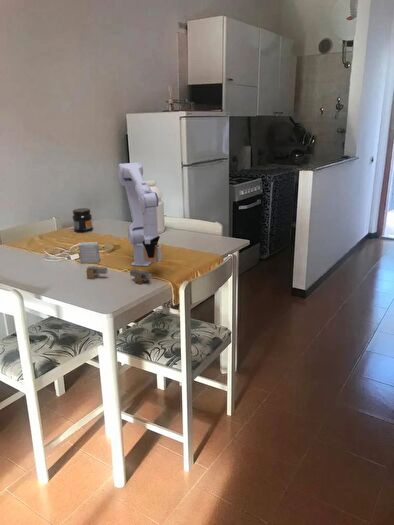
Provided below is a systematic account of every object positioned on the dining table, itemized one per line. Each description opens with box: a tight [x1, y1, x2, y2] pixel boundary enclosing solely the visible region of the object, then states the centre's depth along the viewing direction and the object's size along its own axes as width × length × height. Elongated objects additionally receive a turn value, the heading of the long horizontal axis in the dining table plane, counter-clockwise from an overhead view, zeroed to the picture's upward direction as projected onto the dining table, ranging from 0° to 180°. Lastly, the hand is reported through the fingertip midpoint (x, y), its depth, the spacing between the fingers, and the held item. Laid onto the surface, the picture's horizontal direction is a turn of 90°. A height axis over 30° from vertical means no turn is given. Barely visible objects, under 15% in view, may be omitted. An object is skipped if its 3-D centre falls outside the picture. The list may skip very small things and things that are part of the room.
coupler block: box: [142, 244, 163, 263], centre depth 173 cm, size 4×7×6 cm, turn 77°
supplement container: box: [72, 207, 94, 234], centre depth 241 cm, size 10×10×12 cm
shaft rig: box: [86, 265, 152, 285], centre depth 171 cm, size 7×28×4 cm, turn 77°
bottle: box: [138, 179, 166, 235], centre depth 233 cm, size 14×14×28 cm
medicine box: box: [78, 241, 101, 264], centre depth 191 cm, size 8×4×9 cm, turn 92°
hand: (152, 255), depth 174 cm, fingers closed on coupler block, 4 cm apart
